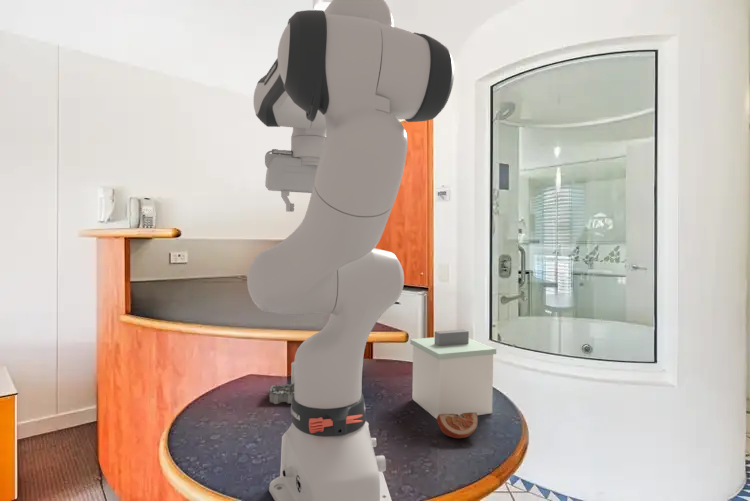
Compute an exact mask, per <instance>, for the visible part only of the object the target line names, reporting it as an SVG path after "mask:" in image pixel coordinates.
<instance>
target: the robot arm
mask: <svg viewBox="0 0 750 501" xmlns="http://www.w3.org/2000/svg"><path fill="white" fill-rule="evenodd" d="M393 18H394V17H393V14H392V11H391V9H390V7H389V5H388V4H387V2H386V1H385V0H332V1H331V2H330V3H329V4H328V5H327V7H326V8H325V10H317V9H316V10H315V9H312V10H311V9H308V10H300V11H299V10H298V11H295V13H294V14H293V15H292V16H291V17H290V18H289V19H288V21H287V24H286V27H285V28H284V29H283V31H282V34H281V36H280V40H279V42H278V48H277V58H276V59H275V61H274V62H273V64H272V65H271V67H270V68H269V70H268V71H267V73H266V74H265V75H264V76H262V77H261V78H260V79H259V80H258V82H257V84H256V87H255V89H254V92H253V110H254V112H255V116H256V117H257V118H258V119H259V121H260V122H261V123H262V124H263V125H264V126H266V127H268V128H270V127H271V128H274V127H277V128H280V127H284V128H292V134H291V136H290V137H291V138H290V144H291V145H290V146H291V147H290V150H289V149H288V150H287V149H286V150H285V149H277V148H273V149H271V150H269V151H267V152H266V153H265V155H264V165H265V167H266V173H265V181H264V182H265V189H267V190H268V191H269V192H270V191H273V192H280V195H281V198H282V200H283V202H284V204H285V210H286V211H285V212H289V213H291V212H295V208H294V207H295V203H292V202H291V201H290V199H289V197H288V196H290V193H302V194H303V193H304V194H307V193H308V194H310V199H309V202H308V206H307V210H306V212H305V214H304V218H303V219H302V221H301V222H300V224H299V225H298V226H297V228H296V229H294V230H293V232H292V233H291V234H290V235H288V236H287V237H286V238H285V239H284V240H282V241H280V242H278V243H277V244H275V245H274V246H271V247H269V248H266V249H264V250H261V251H260V252H259V253H258V254H257V255H256V256H255V257H254V258H253V260H252V262H251V264H250V266H249V269H248V271H247V277H246V278H247V279H246V285H247V290H248V294H249V296H250V298H251V300H252V302H253V303H254V305H255V306H256V307H257V308H258V309H259V310H260V311H262V312H266V313H267V312H268V313H274V314H280V315H288V316H298V315H299V316H300V315H303V316H304V315H319V314H329V315H330V316H329V319H328V321H327V322H326V324H325V325H324V327H323V328H322V329H321V330H319V331H318V332H316V333H314V334H312V335H311V336H310V337H309V336H308V338H306V339H305V340H304V341H303V342H302V343H300V344H301V345H300V344H299V345H300V346H299V345H298V346H299V348H297V350H296V351H295V355H294V361H295V375H294V396H293V397H292V403H290V404H291V405H290V416H291V417H290V420H291V424H290V426H289V428H288V429H287V430H286V431H285V432H284V433H283V435H282V437H281V448H280V449H281V450H280V469H279V470H280V471H279V474H280V475H279V476H277V477H276V478H274V479H273V480H271V482H270V483H269V488H268V491H269V493H270V495H271V497H272V498H273V500H274V501H393V500H392V497H391V494H390V491H389V487H388V485H387V481H386V479H385V475H384V472H386V470H387V461H386V456H385V455H383V454H382V455H376V454H375V449H374V448H376V447H377V445H378V444H377V438H376V437H372V436H371V433H370V428H369V427H370V426H369V425H370V424H369V422H368V421H367V417H366V410H367V409H366V404H365V397H364V396H365V395H364V394H363V393H362V382H363V381H362V379H363V364H364V354H365V349H366V345H367V341H368V339H369V337H370V334H371V332H372V331H373V328H374V327H375V325H376V323H377V322H378V320H379V319H380V318H381V316H382V315H383V314H384V313H385V312H386V311H387V310H389V308H391V307H392V306H393V305H394V304H395V303H397V301H398V299H399V298H400V297H401V295H402V293H403V289H404V286H405V285H404V284H405V273H404V269H403V266H402V263H401V262H400V260H399V259H398V257H397V256H396V255H395V253H393V252H392V251H388V250H386V249H385V250H384V249H380V248H376V247H377V245H378V244H379V242H380V240H381V238H382V237H383V233H384V232H385V229H386V225H387V223H388V220H389V218H390V215H391V212H392V210H393V206H394V205H395V202H396V198H397V196H398V193H399V190H400V187H401V183H402V180H403V175H404V170H405V165H406V160H407V153H408V152H407V151H408V145H409V144H408V143H409V142H408V140H409V139H408V135H407V132H406V129H405V127H404V126H403V124H402V123H401V121H400V120H405V121H406V122H407V123H416V122H426V121H431V120H433V119H435V118H436V117H437V116H438V115H439V114H440V113H441V112H442V110H444V109H445V106H446V105H447V103H448V102H449V99H450V96H451V93H452V91H453V90H452V89H453V85H454V80H455V64H454V60H453V57H452V54H451V52H450V51H449V48H448V47H447V46H446V45H445V44H443V43H442V42H440V41H439V40H438V39H435V38H434V37H431V36H429V35H428V34H425V33H418V32H411V31H409V30H406V29H403V28H399V27H396V26H395V24H394V23H395V22H394V19H393Z"/></svg>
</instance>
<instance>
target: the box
mask: <svg viewBox="0 0 750 501" xmlns="http://www.w3.org/2000/svg"><path fill="white" fill-rule="evenodd" d="M493 375H494V354H491V355H481V356H470V357H460V358H449V359H437V358H435V357H433V356H432V355H430V354H428V353H426V352H424V351H423V350H421V349H419V348H417V347H415V346H413V345H412V398H411V399H412V400H413V402H415V403H416V404H418V405H419V406H420V408H422V409H424V410H425V411H426V412H427V413H429V414H430V415H431V416H432V417H433V418H435V419H436V420H437V417H438V415H439V414H453V413H454V414H458V415H460V414H463V413H472V412H473V413H474V412H476V413H477V416H481V415H489V414H493V389H494V387H493V384H494V376H493Z"/></svg>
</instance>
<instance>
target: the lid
mask: <svg viewBox="0 0 750 501" xmlns="http://www.w3.org/2000/svg"><path fill="white" fill-rule="evenodd" d="M469 334H470V332H469V331H468V330H466V329H453V330H452V329H450V330H440V331H434V336H433V337H432V336H431V337H422V338H410V345H412V347H413V346H415V347H417V348H419V349H421V350H423V351H424V352H426V353H428V354H430V355H432V356H433V357H435V358H437V359H449V358H460V357H470V356H481V355H491V354H493V355H496V354H497V348H495V347H493V346H490V345H487V344H485V343H483V342H480V341H477V340H474V339H472V338H470V336H469Z"/></svg>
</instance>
